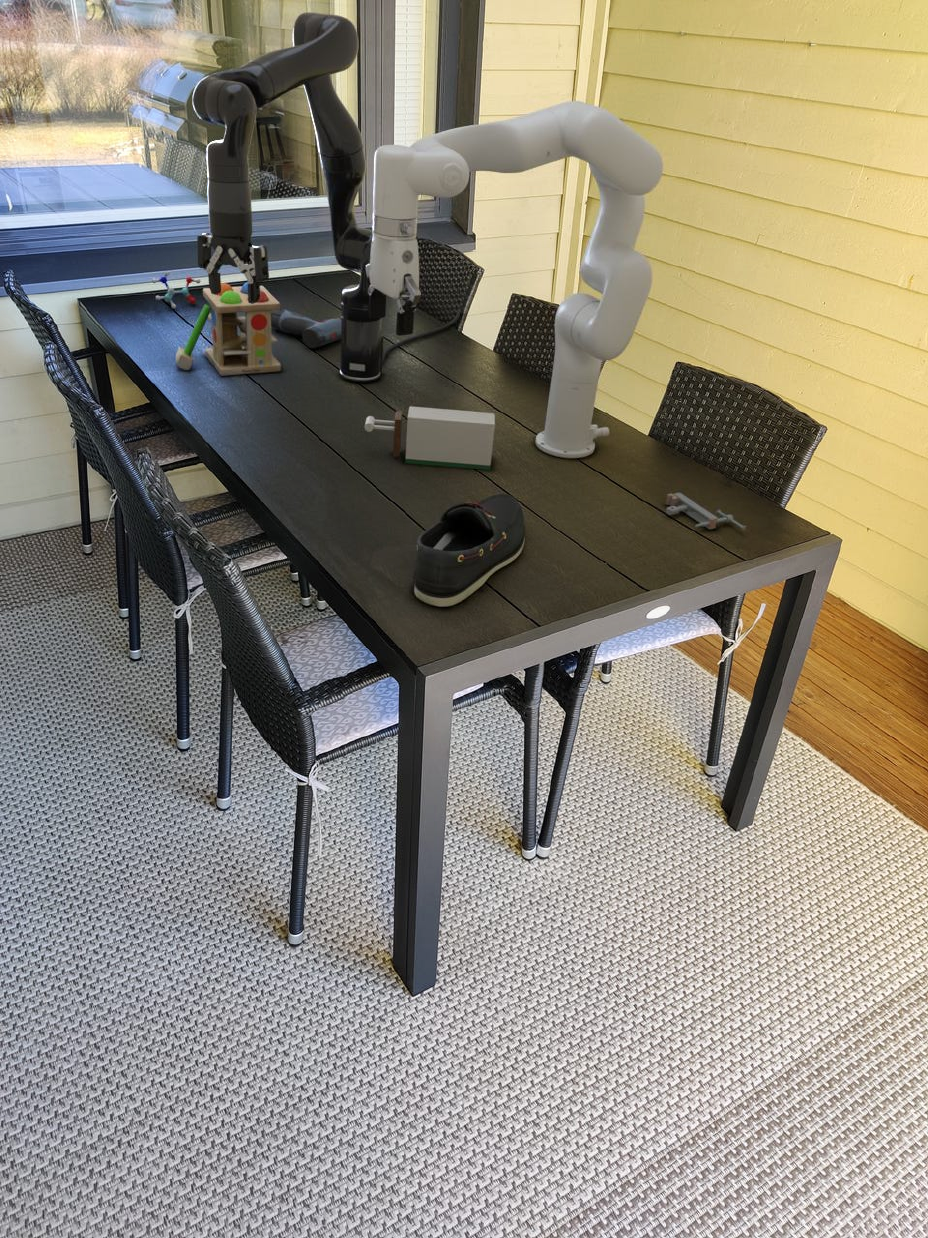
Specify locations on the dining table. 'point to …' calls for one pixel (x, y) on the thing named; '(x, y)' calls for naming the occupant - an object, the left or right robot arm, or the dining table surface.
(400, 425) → the drawer
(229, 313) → the pounding bench toy
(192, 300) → the molecular model
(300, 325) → the power drill
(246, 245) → the left robot arm
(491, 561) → the boat shoe
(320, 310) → the dining table surface
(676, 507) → the clamp
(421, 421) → the cabinet
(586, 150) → the right robot arm
